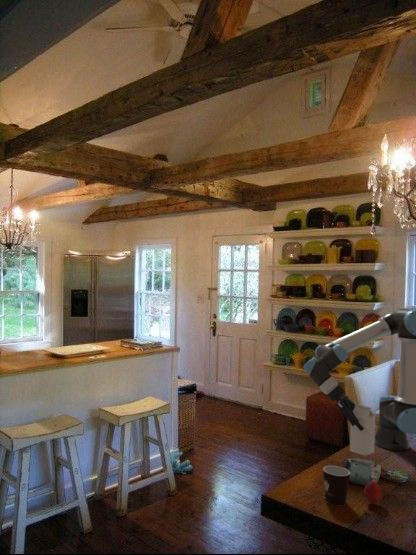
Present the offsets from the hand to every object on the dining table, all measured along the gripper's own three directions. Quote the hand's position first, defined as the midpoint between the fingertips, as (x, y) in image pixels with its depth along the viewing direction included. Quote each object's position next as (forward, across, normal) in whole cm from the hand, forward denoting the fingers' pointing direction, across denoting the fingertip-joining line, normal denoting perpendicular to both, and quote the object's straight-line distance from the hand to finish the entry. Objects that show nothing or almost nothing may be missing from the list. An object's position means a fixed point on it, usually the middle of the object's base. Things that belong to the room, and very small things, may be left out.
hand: (370, 433), depth 183 cm
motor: (+8, +19, -9) cm, 22 cm away
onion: (+13, +39, -4) cm, 41 cm away
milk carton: (+4, 0, -8) cm, 9 cm away
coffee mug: (+5, +42, -12) cm, 45 cm away
